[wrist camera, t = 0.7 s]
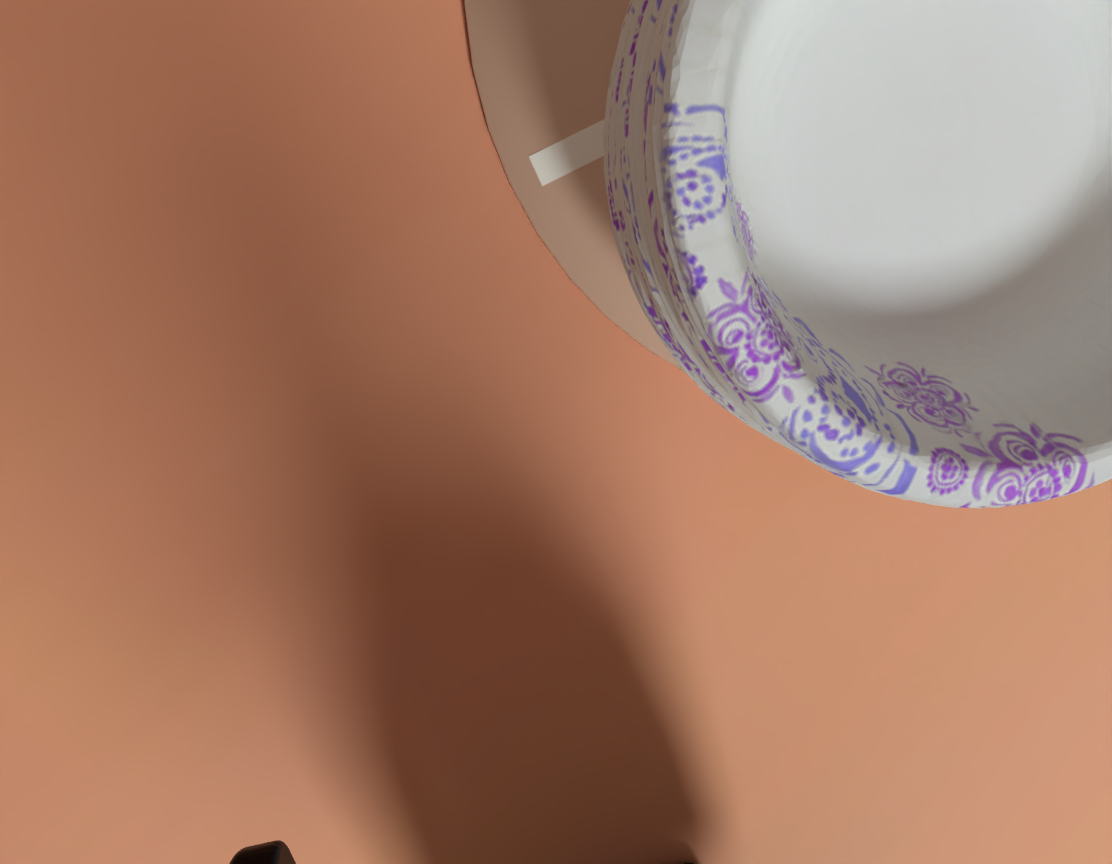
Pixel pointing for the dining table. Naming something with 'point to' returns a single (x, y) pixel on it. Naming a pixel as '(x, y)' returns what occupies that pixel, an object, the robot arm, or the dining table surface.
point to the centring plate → (558, 134)
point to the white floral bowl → (880, 230)
